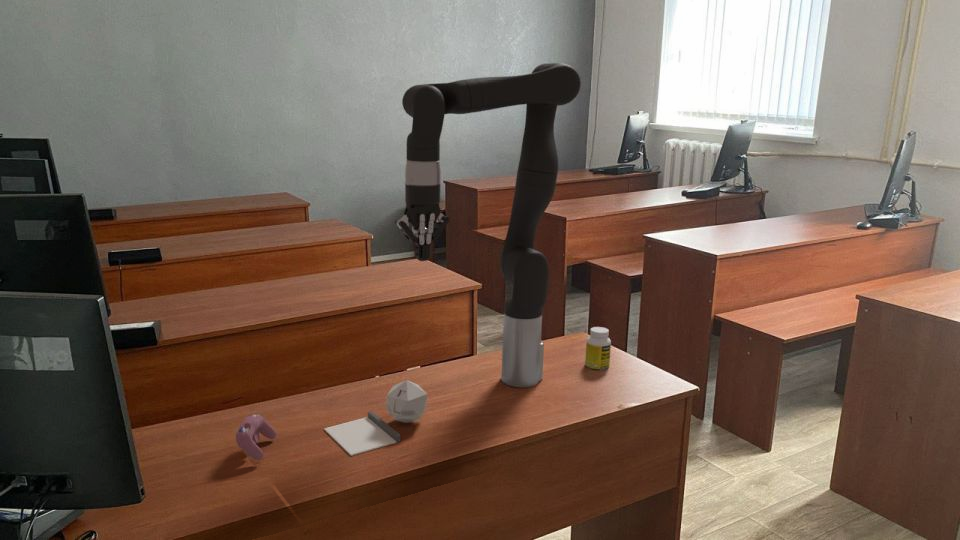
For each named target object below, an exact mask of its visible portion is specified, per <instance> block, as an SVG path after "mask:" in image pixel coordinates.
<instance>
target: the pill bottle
mask: <svg viewBox="0 0 960 540" xmlns="http://www.w3.org/2000/svg"><path fill="white" fill-rule="evenodd" d="M589 333H590V335H589V336H588V337H587V338H586V346H585V358H584V359H585V361H584V366H585V368H586V369H589V370H593V371H605V370H608V369H609V368H610V361H611V360H610V359H611V348H612V340H611V339H610V337H609V336H610V335H609V333H610V331H609V329H608V328H607V327H603V326H602V327H601V326H593V327H591V328H590V331H589Z"/></svg>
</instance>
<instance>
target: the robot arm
mask: <svg viewBox="0 0 960 540" xmlns="http://www.w3.org/2000/svg"><path fill="white" fill-rule="evenodd" d="M581 83H582V82H581V77H580V75H579V73H578V71H577V70H576V69H575V67H573V66H571V65H569V64H566V63H562V62H552V63H551V62H550V63H549V62H548V63H541V64H539V65H537V66H536V67H535V68H534V69H533V70H532V72H531V73H527V74H521V75H519V74H518V75H511V76H509V75H507V76H506V75H505V76H487V77H475V78H468V79H467V78H466V79H460V80H455V81H451V82H442V83H441V82H439V83H424V84H415V85H413V86H410V87H409V88H407V90H406V91H405V92H404V94H403V97H402V102H401V103H402V107H403V110H404V111H405V113H406V114H407V115H408V116H409V117H411V118H412V124H411V131H410V133H409V134H408V135H407V137H406V164H405V172H404V174H405V175H404V179H405V181H404V191H405V192H404V195H405V199H404V200H405V201H404V202H405V209H404V211H403V216H402V217H400V219H396V220H394V224H395V225H396V227H397V228H398V230H399V231H400V232H401V234H402V235H403V236H404V237H405V239H406V240H407V241H408V242H411V243H414V244H415V245H414V246H415V248H414V249H415V250H414V251H415V252H414V253H415V254H414V255H415V259H417V260H418V261H419V262H426V261H428V260H429V258H430V256H431V254H430V252H431V243H432V242H434V241H437V240H439V238H440V236H441V234H442V233H443V231H444V229H445V228H446V227H447V225H448V223H449V222H450V217H449V216H446V215H444V214H443V213H442V210H441V207H440V203H441V178H442V177H441V175H442V174H441V173H442V171H441V163H440V159H441V158H440V157H441V156H440V154H441V153H440V152H441V151H440V150H441V145H440V139H441V136H442V135H441V134H442V131H443V127H444V126H443V125H444V121H445V115H449V114H451V115H452V114H453V115H467V114H473V113H479V112H485V111H492V110H496V109H502V108H508V107H513V106H520V105H523V106H524V105H526V107H525V108H526V110H525V123H524V124H525V125H524V130H523V137H522V143H521V148H520V156H519V161H518V166H517V173H516V179H515V187H514V194H513V200H512V204H511V205H512V206H511V207H512V208H511V211H510V219H509V223H508V228H507V232H506V236H505V240H504V244H503V247H502V250H501V255H500V260H499V262H500V263H499V268H500V272H501V275H502V276H503V277H504V279H505V280H507V281H508V282H510V283H512V284H513V286H512V295H511V297H510V298H507V299H506V300H505V301H504V304H503V319H502V320H503V323H502V324H503V326H502V349H501V350H502V351H501V354H502V355H501V357H502V358H501V378H500V379H501V382H502V383H504V384H505V385H507V386H510V387H515V388H531V387H533V386H536V385H537V384H538V383H539V382H541V381H543V375H544V374H543V373H544V372H543V370H544V355H545V354H544V351H545V350H544V349H545V344H544V343H543V342H542V329H543V328H542V327H543V326H542V324H543V309H544V306H545V305H546V302H547V299H548V298H547V297H548V286H549V276H550V274H549V273H550V268H549V261H548V259H547V257H546V256H545V255H544V254H543V253H542V252H540V251H538V250H536V249H534V243H535V237H536V231H537V227H538V224H539V222H540V220H541V219H542V217H543V215H544V213H545V211H546V210H547V208H549V205H550V203H551V201H552V199H553V196H554V194H555V190H556V186H557V185H556V184H557V181H558V180H557V179H558V172H559V158H558V157H559V156H558V151H557V145H556V139H555V134H554V129H555V128H554V127H555V126H554V125H555V119H556V112H557V109H558V107H559V106H564V105H567V104H569V103H571V102H572V101H574V100H575V98H577V96H578V95H579V92H580V90H581ZM409 226H411V228H410V227H409Z"/></svg>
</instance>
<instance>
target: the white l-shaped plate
mask: <svg viewBox="0 0 960 540" xmlns="http://www.w3.org/2000/svg"><path fill="white" fill-rule="evenodd" d="M323 430H324V431H325V433H327V434H328V435H329V436H330V437H331V438H332V439H333V440H334V441H335V442H336V443H337V444H338V445H339V446H340V447H341V448H342V449H343V450H344V451H345V452H346V453H347V454H348V455H349V456H350V457H352V456H356V455H359V454H363V453H366V452H370V451H374V450H376V449H379V448H384V447H387V446H390V445H394V444H397V443H400V442H401V434H400V433H398V431H396V430H395V428H393V427H391V426H390V425H389V424H388V423H386V422H385V421H384V420H383V419H382V418H381V417H379V416H378V415H377V414H376V413H375V412H373V410H369V411H368V412H367V416H366V417H362V418H358V419H354V420H350V421H348V422H347V421H346V422H344V423H339V424H336V425H333V426H329V427H325V428H323Z"/></svg>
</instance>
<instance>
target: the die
mask: <svg viewBox="0 0 960 540" xmlns="http://www.w3.org/2000/svg"><path fill="white" fill-rule="evenodd" d="M427 400H428V393H427V392H426V391H425V390H424V389H423V388H422V387H421V386H420V385H419V384H417V383H415V382H412V381H410V380H408V379H406V380H403V381H401V382H398V383H396V384H394V385H393V386H392V387H391V389H390V391H389V392H388V393H387V394H386V407H385V408H386V411H387V412H388V413H389V415H390V416H391V417H392V418H393V419H394V420H395V421H398V422H402V423H405V424H408V423H411V422H414V421H417V420H420V419H421V418H422V416H423V415H424V413H425V411H426V409H427V403H428V402H427Z"/></svg>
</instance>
